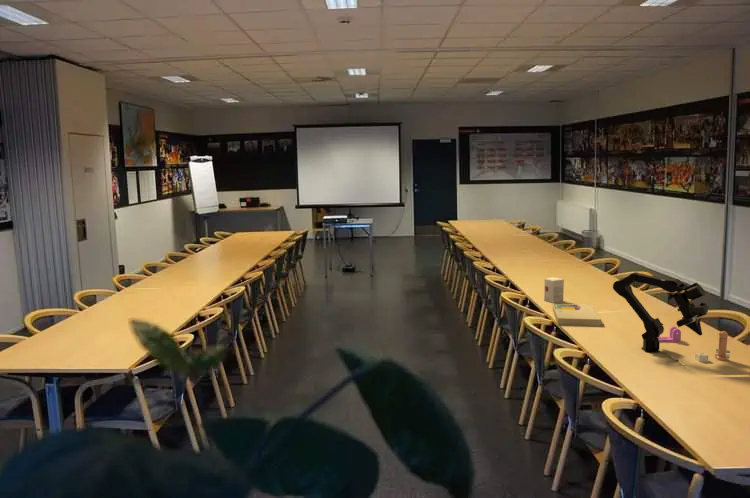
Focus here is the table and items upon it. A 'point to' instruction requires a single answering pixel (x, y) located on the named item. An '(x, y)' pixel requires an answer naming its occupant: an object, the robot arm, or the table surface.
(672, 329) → the bracket
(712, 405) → the table surface
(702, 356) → the die
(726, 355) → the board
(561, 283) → the supplement box
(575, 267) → the table surface
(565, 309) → the puzzle box
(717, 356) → the pawn
